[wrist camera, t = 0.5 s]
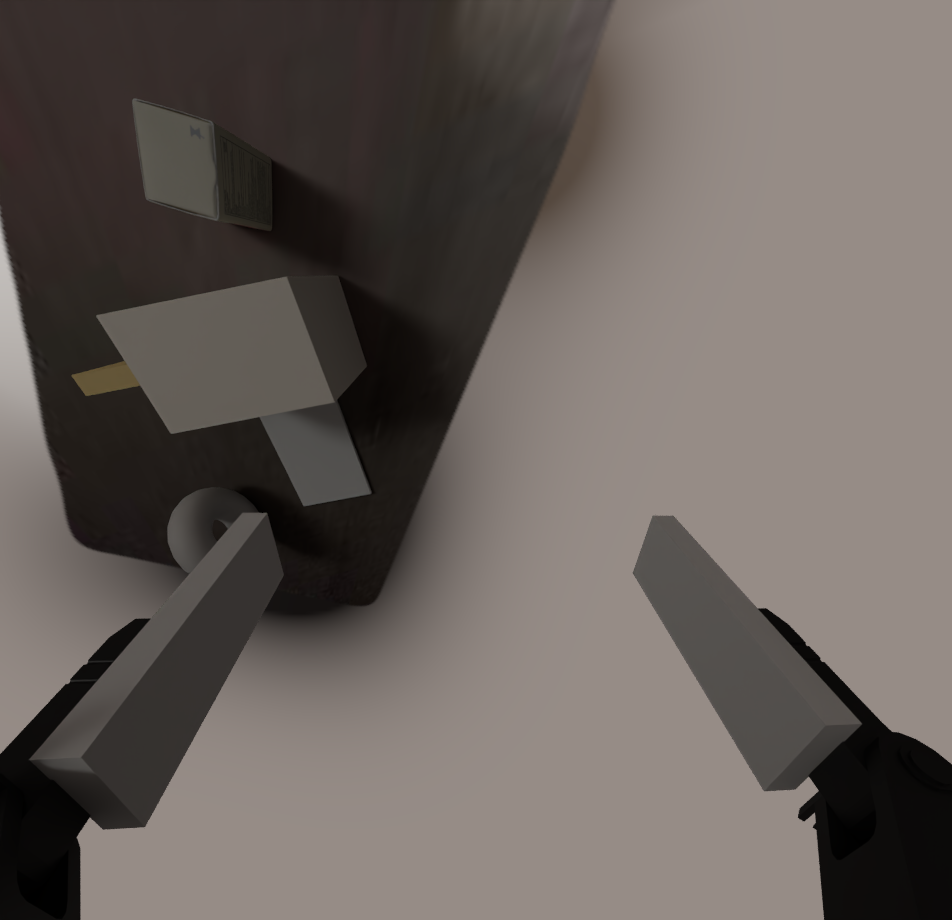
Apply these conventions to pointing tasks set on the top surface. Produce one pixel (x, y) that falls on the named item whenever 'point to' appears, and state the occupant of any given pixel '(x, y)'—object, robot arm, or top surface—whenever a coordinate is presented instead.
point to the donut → (202, 522)
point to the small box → (202, 168)
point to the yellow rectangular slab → (106, 379)
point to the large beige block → (241, 350)
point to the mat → (317, 453)
